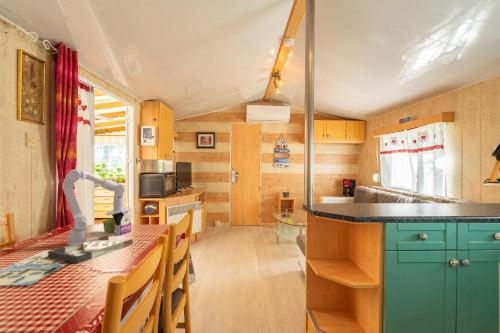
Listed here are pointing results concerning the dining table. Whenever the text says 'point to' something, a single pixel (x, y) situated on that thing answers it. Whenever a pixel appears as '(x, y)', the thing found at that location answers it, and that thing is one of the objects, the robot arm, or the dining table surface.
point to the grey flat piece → (100, 251)
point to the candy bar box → (124, 224)
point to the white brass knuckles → (97, 245)
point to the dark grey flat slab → (68, 256)
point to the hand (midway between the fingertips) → (117, 225)
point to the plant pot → (109, 225)
